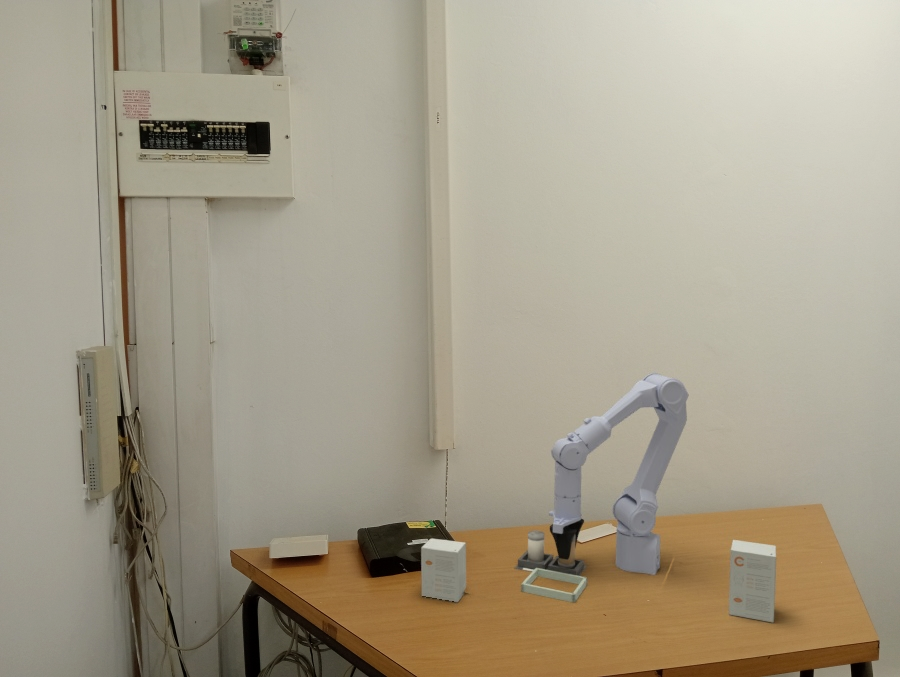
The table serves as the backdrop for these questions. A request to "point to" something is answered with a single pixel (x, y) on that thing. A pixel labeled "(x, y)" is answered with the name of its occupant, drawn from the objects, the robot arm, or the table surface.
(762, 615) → the small box
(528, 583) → the tray
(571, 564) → the cylinder
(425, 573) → the small box
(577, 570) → the tray
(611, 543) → the table surface
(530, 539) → the cylinder
